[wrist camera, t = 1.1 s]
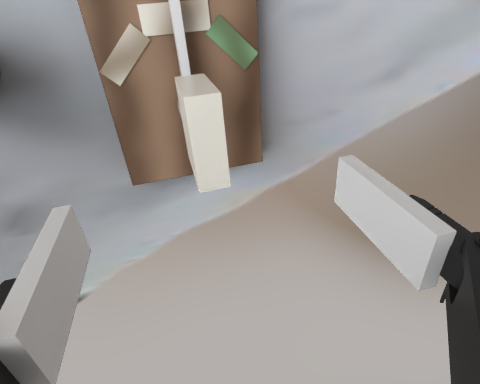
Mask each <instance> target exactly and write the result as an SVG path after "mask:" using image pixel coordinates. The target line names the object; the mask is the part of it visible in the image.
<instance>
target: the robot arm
mask: <svg viewBox="0 0 480 384" xmlns="http://www.w3.org/2000/svg"><path fill="white" fill-rule="evenodd" d="M334 202H335V203H336V204H337V205H338V206H339V207H340V208H341V209H342V210H343V211H344V212H345V213H346V214H347V215H348V217H349V218H350V219H351V220H352V221H353V222H354V223H355V224H356V225H357V226H358V227H359V228H360V229H361V230H362V231H363V232H364V234H366V236H367V237H368V238H369V239H370V240H371V241H372V242H373V243H374V244H375V245H376V246H377V247H378V249H379V250H380V251H381V252H382V253H383V254H384V255H385V256H386V257H387V258H388V259H389V260H390V261H391V262H392V263H393V265H394V266H395V267H396V268H397V269H398V270H399V271H400V272H401V273H402V274H403V275H404V276H405V277H406V278H407V279H408V280H409V282H410V283H411V284H412V285H413V286H414V287H415V288H416V289H417V290H418V291H421V290H425V289H429V288H432V287H436V285H437V282H438V279H439V277H440V275H441V276H442V277H443V278H444V279H445V280H446V281H447V284H446V287H445V289H444V292H443V294H442V297H441V300H440V303H443V302H444V300H445V299H446V310H447V326H448V342H449V358H450V374H451V384H480V232H473V233H471V232H470V231H468V230H467V229H465V228H464V227H463V226H461V225H460V224H458V223H457V222H455V221H454V220H453V219H451V218H450V217H448V216H447V215H446V214H442V212H441V211H440V210H438V209H437V208H434V206H433V205H431V204H430V203H428V202H427V201H426V200H424V199H421V198H419V197H416V196H414V195H409V196H408V195H407V194H405V193H404V192H403V191H401V190H400V189H399V188H397V187H396V186H394V185H393V184H392V183H390V182H389V181H388V180H386V179H385V178H383V177H382V176H381V175H379V174H378V173H377V172H375V171H374V170H373V169H371V168H370V167H368V166H367V165H365V164H364V163H363V162H362V161H360V160H359V159H358V158H356V157H355V156H354V155H348V156H342V157H339V162H338V172H337V181H336V190H335V199H334ZM90 253H91V249H90V247H89V245H88V243H87V240H86V238H85V236H84V233H83V231H82V229H81V226H80V224H79V222H78V219H77V217H76V215H75V213H74V210H73V208H72V206H71V205H66V206H61V207H55V208H53V209H52V211H51V213H50V214H49V216H48V218H47V220H46V222H45V224H44V226H43V228H42V230H41V232H40V234H39V236H38V238H37V240H36V242H35V244H34V246H33V248H32V250H31V251H30V253H29V255H28V257H27V259H26V261H25V263H24V265H23V267H22V269H21V271H20V273H19V275H18V277H17V278H15V279H10V280H5V281H4V282H3V283H2V284H1V285H0V384H56V381H57V377H58V374H59V370H60V366H61V362H62V358H63V355H64V351H65V347H66V343H67V339H68V336H69V332H70V328H71V324H72V320H73V316H74V313H75V309H76V306H77V302H78V298H79V294H80V290H81V287H82V283H83V279H84V275H85V272H86V268H87V264H88V260H89V256H90Z"/></svg>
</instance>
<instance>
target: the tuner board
mask: <svg viewBox="0 0 480 384" xmlns="http://www.w3.org/2000/svg"><path fill="white" fill-rule="evenodd" d="M77 1H78V4H79V7H80V11H81V14H82V17H83V21H84V24H85V27H86V31H87V34H88V37H89V41H90V44H91V47H92V51H93V54H94V57H95V61H96V64H97V67H98V71H99V74H100V77H101V81H102V84H103V87H104V91H105V94H106V97H107V101H108V104H109V107H110V111H111V114H112V117H113V121H114V124H115V127H116V131H117V134H118V137H119V141H120V144H121V147H122V151H123V154H124V157H125V161H126V164H127V167H128V171H129V174H130V177H131V181H132V184H133V186H134V185H139V184H145V183H150V182H155V181H161V180H166V179H171V178H177V177H182V176H187V175H193V174H194V173H193V170H192V166H191V163H190V159H189V156H188V151H187V145H186V140H185V134H184V128H183V123H182V118H181V115H180V112H179V109H178V106H177V101H178V95H177V89H176V83H175V78H174V77H178V76H181V74H180V68H179V62H178V56H177V50H176V44H175V38H174V32H173V26H172V20H171V14H170V8H169V2H168V0H77ZM180 6H181V13H182V20H183V26H184V33H185V40H186V46H187V53H188V59H189V66H190V73H191V75H194V74H202V73H204V74H205V75H206V76H207V78H208V79H209V80H210V81H211V82H212V83H213V84H214V85H215V86H216V87H217V89H218V90H219V91H220V92H221V97H222V107H223V117H224V126H225V136H226V145H227V155H228V164H229V168H230V167H235V166H241V165H246V164H251V163H257V162H262V161H263V157H262V131H261V106H260V80H259V54H258V28H257V3H256V0H180Z"/></svg>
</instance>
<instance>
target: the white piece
mask: <svg viewBox="0 0 480 384" xmlns="http://www.w3.org/2000/svg"><path fill="white" fill-rule="evenodd" d="M168 2H169V8H170V14H171V20H172V26H173V32H174V38H175V44H176V50H177V56H178V62H179V68H180V74H181V76H178V77H174V78H175V83H176V89H177V95H178V101H177V106H178V109H179V112H180V115H181V118H182V123H183V128H184V134H185V140H186V145H187V151H188V156H189V159H190V163H191V166H192V170H193V173H194V176H195V180H196V183H197V187H198V190H199V193H202V192H207V191H212V190H217V189H222V188H227V187H231V184H230V174H229V164H228V155H227V145H226V136H225V126H224V117H223V107H222V97H221V92H220V91H219V90H218V89H217V87H216V86H215V85H214V84H213V83H212V82H211V81H210V80H209V79H208V78H207V76H206V75H205V74H204V73H202V74H194V75H191V73H190V66H189V59H188V53H187V46H186V40H185V33H184V26H183V20H182V13H181V6H180V0H168Z"/></svg>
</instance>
